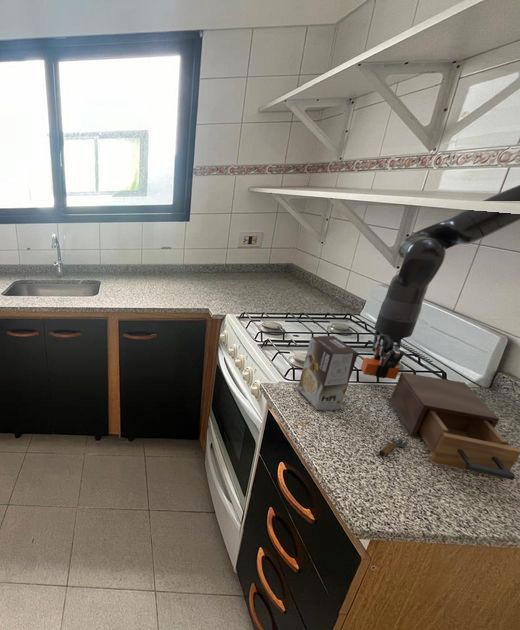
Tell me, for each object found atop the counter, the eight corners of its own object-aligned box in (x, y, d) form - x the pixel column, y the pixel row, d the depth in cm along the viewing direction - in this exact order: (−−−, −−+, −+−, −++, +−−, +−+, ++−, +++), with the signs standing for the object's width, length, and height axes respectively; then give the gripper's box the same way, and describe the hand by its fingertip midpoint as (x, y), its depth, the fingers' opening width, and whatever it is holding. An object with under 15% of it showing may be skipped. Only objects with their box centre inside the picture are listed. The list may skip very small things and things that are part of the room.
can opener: (383, 457, 71) (385, 453, 71) (371, 449, 73) (373, 445, 73) (410, 445, 74) (412, 441, 74) (398, 438, 76) (400, 434, 76)
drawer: (521, 500, 61) (541, 472, 58) (443, 481, 65) (458, 454, 62) (469, 435, 76) (483, 410, 73) (408, 422, 80) (418, 398, 77)
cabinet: (481, 451, 73) (499, 419, 69) (410, 436, 77) (424, 404, 73) (450, 411, 84) (464, 382, 81) (389, 400, 88) (401, 372, 85)
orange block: (391, 372, 94) (395, 362, 92) (395, 379, 91) (399, 368, 90) (360, 368, 96) (364, 357, 95) (363, 374, 93) (367, 363, 92)
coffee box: (341, 409, 85) (360, 353, 79) (316, 410, 85) (333, 354, 79) (318, 387, 94) (334, 335, 87) (295, 388, 94) (309, 335, 87)
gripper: (429, 328, 79) (404, 390, 86) (406, 307, 91) (386, 363, 98) (389, 324, 82) (368, 384, 89) (372, 303, 94) (354, 358, 101)
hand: (377, 372), depth 94 cm, fingers closed on orange block, 3 cm apart
